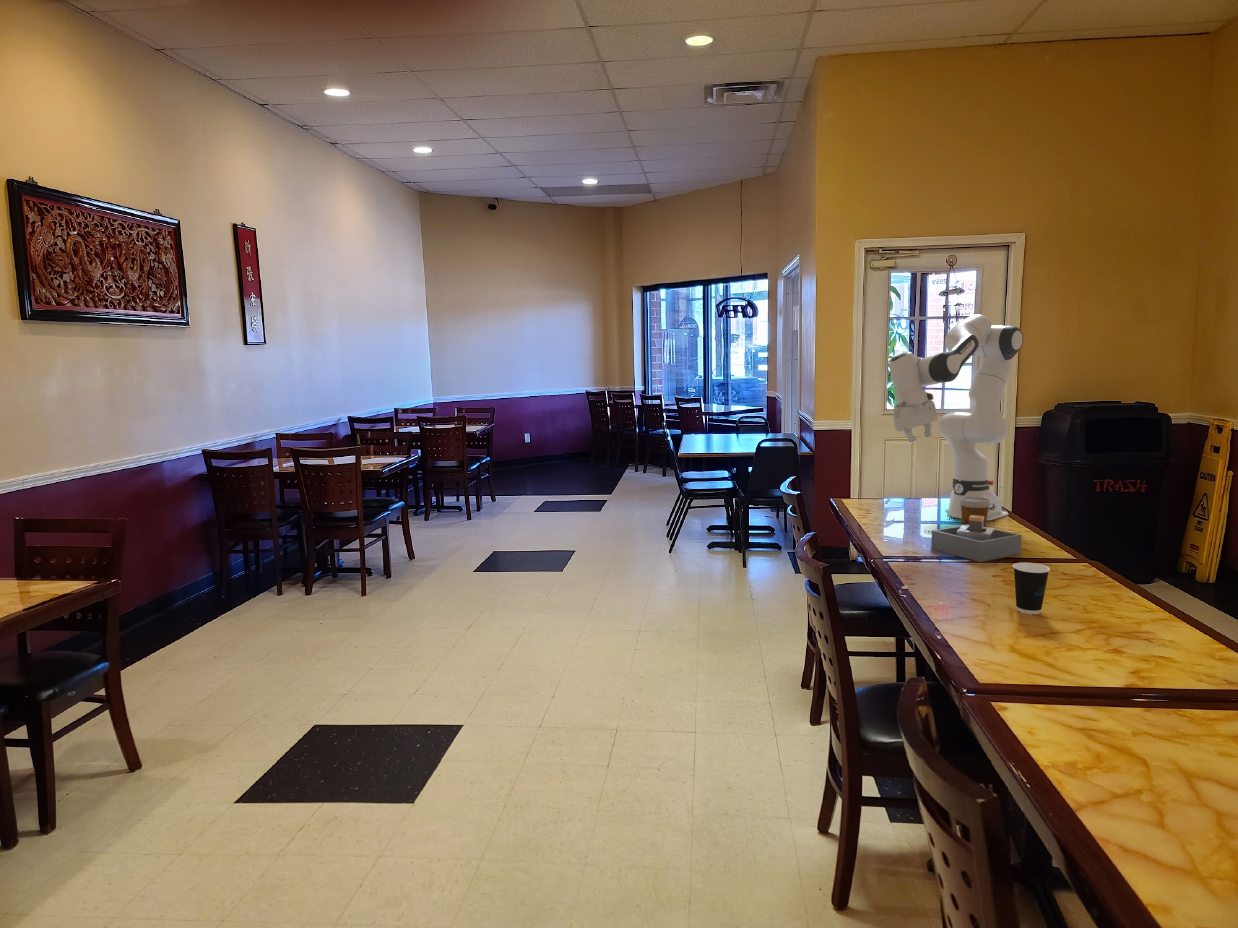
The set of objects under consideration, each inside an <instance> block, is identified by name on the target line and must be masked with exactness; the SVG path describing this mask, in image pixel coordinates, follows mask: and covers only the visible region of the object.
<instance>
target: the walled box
mask: <svg viewBox="0 0 1238 928" xmlns="http://www.w3.org/2000/svg"><path fill="white" fill-rule="evenodd" d="M962 525H963V524H961V525H956V526H950V527H943V528H938V529H932V530H931V546H930V548H931V550H934V551H938V552H943V553H946V554H949V555H953V556H957V557H960V558H964V559H968V560H971V561H975V562H980V563H983V562H987V561H988V562H989V561H992V560H993V561H994V560H998V559H1003V558H1007V557H1012V556H1018V555H1021V554H1022V553H1021V552H1022V538H1023V537H1022V534H1019V533H1014V532H1009V531H1005V530H1002V529H996V528H995V539H990V540H984V541H978V540H974V539H970V538H965V537H961V536H957V530H958V529H959V528H960V527H961V526H962ZM967 525H969V524H967Z"/></svg>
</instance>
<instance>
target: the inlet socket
mask: <svg viewBox="0 0 1238 928" xmlns="http://www.w3.org/2000/svg"><path fill="white" fill-rule="evenodd" d="M961 525H962V526H961ZM961 525H960V526H961V527H960V528H959V529H958V530H957V536H961V537H965V538H970V539H974V540H978V541H984V540H990V539H995V529H996V528H995V527H988V526H985V527H983V532H978V531H969V525H963V524H961Z"/></svg>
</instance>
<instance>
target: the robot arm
mask: <svg viewBox="0 0 1238 928" xmlns="http://www.w3.org/2000/svg"><path fill="white" fill-rule="evenodd" d="M1023 343H1024V334H1023V332H1022V330H1021V328H1019V327H1017V326H1014V325H1008V324H1007V325H995V324H994V325H993V324H992V322H991V319H989V317H988V316H986V315H984V314H978V313H977V314H972V315H970V316H968V317H966V318H965V319H963V320H961V321H960V322H959V323H957V324H956V325H955V326H953V327H952V328H951V329H950V330H949V331H948V332H947V334H946V335H945V338H944V344H945V348H946V349H947V351H943V352H939V353H937V354H933V355H930V356H927V357H919V356H916V355H915V354H913V353H912V352H911V351H904V352H902V353H900V354H898V355H895V356H893V357H892V358H890V360H889V370H890V372H889V373H890V377H891V381H892V384H893V385H894V388H895V397H896V402H897V403H896V404H895V405H894V407H893V415H892V416H893V422H894V428H895V430H896V431H897V432H904V434H905V436H906V437H907V438H908V442H909V443H910V444H911V443H915V442H917V439H916V438H917V437H916V436H914V434H913V429H914V428H918V427H921V426H923V427H924V432H923V434H924V438H929V437H932V423H933V422H936V421H937V419H938V412H937V408H936V405H935V402H934V401H933V400H934V399H935V398H934V394H933V393H931V392H926V391H924V387H928V386H933V385H938V384H943V383H949V382H950V383H951V382H953V381H955V380H956V378H957V377H958V376H959V374H960V371H961V370H962V367H963V366H964V365H965V363H967V361H969V359H970V358H971V357H972V356H982V361H981V363H980V365H979V366H978V368H977V371H976V373H975V374H974V375H975V376H974V377H973V381H972V383H971V385H970V389H969V391H968V397H969V400H970V401H971V403H973V404H974V405H975V409H974V410H975V411H974V412H966V411H965V412H964V411H954V412H949V413H946V414H944V415H943V416H942V417H941V419H940V421H939V425H938V429H939V433H940V435H941V437H943V438H944V439H945V440H946V441H947V443H948V444H949V446H950V448H951V451H952V455H953V461H954V462H953V463H954V467H953V468H954V471H953V473H954V474H953V476H954V477H953V478H952V482H951V483H952V491H951V492H950V497H949V504H948V505H949V506H948V508H947V509H946V513H947V515H948V516H949V517H951V518H956V519H961V520H962V512H961V505H960V501H961V498H964V497H979V498H986V499H988V500H989V503H990V506H989V509H988V514H987V519H986V521H992V520H997V519H1000V518H1003V517H1007V516H1009V513H1008V511H1006V510H1003V509H1002V499H1000V497H999V496H997V495H996V494H995V493H994V492H993V491H992V490H991V489H990V486H994V485H995V480H994V479H987V477H988V476H987V474H988V472H987V471H988V459H987V457H986V455H984V454H983V453H981V452H980V450H979V449H978V447H977V444H984V445H987V444H988V445H989V444H997V443H998V444H999V443H1002V442H1003V441H1004V440H1005V439H1006V437H1007V436H1008V433H1009V424H1008V421H1007V420H1006V418H1005V417H1003V415H1002V413H1001V408H1000V407H1001V400H1002V397H1003V394H1004V391H1005V388H1006V385H1007V382H1008V380H1009V376H1010V370H1011V365H1012V359H1013V358H1015V356H1016V354H1018V353H1019V351H1020V350H1021V349H1022V346H1023Z"/></svg>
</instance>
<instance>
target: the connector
mask: <svg viewBox="0 0 1238 928" xmlns="http://www.w3.org/2000/svg"><path fill="white" fill-rule="evenodd" d="M983 526H984V516H976V515H971V516H970V517H969V531H978V532H983Z"/></svg>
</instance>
